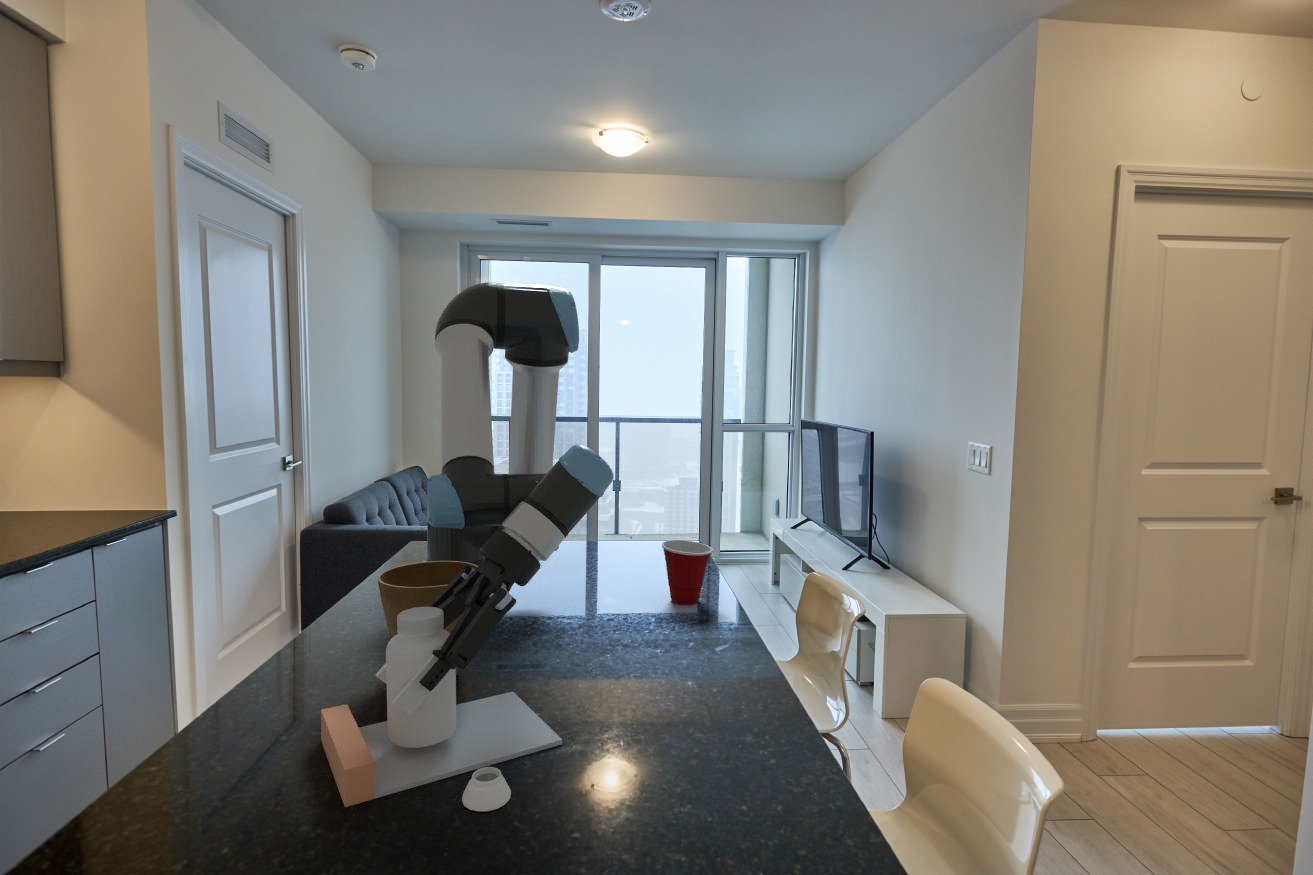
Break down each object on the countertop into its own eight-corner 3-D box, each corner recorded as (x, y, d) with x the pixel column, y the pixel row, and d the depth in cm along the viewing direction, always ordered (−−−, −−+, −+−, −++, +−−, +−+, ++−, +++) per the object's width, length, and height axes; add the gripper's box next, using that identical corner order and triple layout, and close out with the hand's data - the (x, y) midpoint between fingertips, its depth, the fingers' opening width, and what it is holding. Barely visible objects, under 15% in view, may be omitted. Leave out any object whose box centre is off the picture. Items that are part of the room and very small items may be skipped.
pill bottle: (397, 718, 89) (396, 602, 87) (461, 717, 89) (461, 602, 88) (377, 751, 81) (376, 624, 80) (448, 749, 81) (448, 623, 80)
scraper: (321, 740, 86) (320, 709, 86) (512, 695, 100) (513, 668, 100) (344, 806, 73) (344, 770, 73) (562, 744, 87) (562, 712, 86)
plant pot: (451, 649, 117) (451, 555, 116) (499, 676, 106) (500, 573, 105) (361, 673, 106) (361, 570, 105) (405, 706, 96) (404, 592, 95)
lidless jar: (458, 815, 72) (507, 814, 73) (458, 788, 72) (507, 787, 72) (467, 787, 77) (513, 786, 78) (467, 762, 77) (513, 761, 77)
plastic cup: (708, 611, 140) (709, 552, 139) (655, 606, 142) (656, 548, 141) (714, 595, 151) (716, 540, 150) (665, 591, 153) (666, 537, 152)
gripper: (575, 582, 84) (440, 748, 76) (510, 547, 101) (394, 680, 93) (534, 543, 80) (389, 713, 73) (474, 514, 97) (351, 648, 90)
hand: (392, 694), depth 83 cm, fingers closed on pill bottle, 8 cm apart
